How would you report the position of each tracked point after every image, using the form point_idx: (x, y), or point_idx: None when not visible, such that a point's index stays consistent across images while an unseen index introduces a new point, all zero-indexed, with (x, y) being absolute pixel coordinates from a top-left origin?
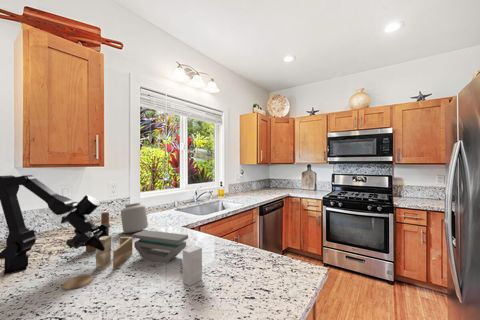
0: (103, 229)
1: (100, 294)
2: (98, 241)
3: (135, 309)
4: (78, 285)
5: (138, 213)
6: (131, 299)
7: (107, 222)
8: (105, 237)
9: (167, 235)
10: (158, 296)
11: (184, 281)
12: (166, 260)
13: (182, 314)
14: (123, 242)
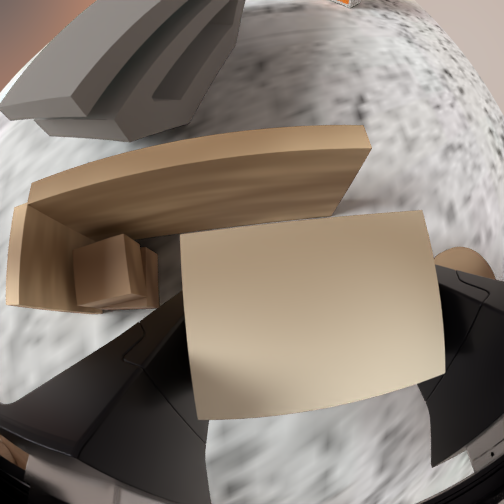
0: (10, 487)
1: (481, 160)
2: (478, 282)
3: (468, 72)
4: (486, 272)
5: None
6: (455, 81)
7: None
8: (296, 295)
9: None
10: (419, 40)
11: (354, 3)
12: (236, 31)
13: (435, 21)
14: (47, 272)
